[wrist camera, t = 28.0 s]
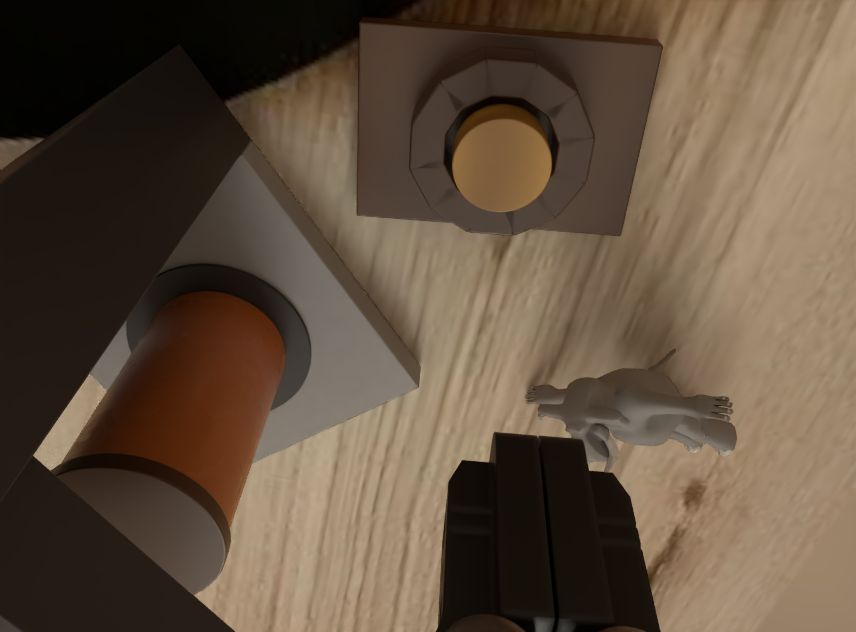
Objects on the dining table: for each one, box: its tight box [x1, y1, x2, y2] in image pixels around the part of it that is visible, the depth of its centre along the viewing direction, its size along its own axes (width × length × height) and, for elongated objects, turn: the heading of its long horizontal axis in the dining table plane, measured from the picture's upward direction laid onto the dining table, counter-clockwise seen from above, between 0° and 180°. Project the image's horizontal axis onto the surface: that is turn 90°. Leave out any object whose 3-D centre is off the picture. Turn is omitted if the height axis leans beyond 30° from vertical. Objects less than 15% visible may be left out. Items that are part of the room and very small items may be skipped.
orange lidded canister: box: [51, 291, 286, 595], centre depth 27 cm, size 6×6×10 cm
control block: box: [357, 17, 663, 236], centre depth 27 cm, size 10×7×2 cm
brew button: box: [452, 104, 552, 212], centre depth 25 cm, size 3×3×2 cm
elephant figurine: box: [525, 349, 737, 473], centre depth 31 cm, size 10×6×9 cm
